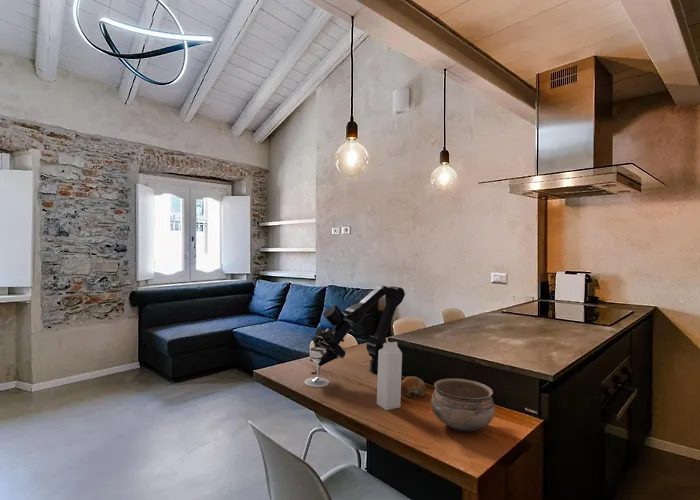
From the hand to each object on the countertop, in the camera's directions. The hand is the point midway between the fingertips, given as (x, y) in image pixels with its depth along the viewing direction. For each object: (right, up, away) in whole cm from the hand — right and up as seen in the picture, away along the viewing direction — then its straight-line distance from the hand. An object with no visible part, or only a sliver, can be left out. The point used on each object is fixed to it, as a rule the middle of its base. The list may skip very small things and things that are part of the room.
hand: (314, 363), depth 154 cm
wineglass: (+1, -7, +1) cm, 7 cm away
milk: (+27, -9, -20) cm, 35 cm away
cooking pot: (+49, -10, -35) cm, 60 cm away
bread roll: (+38, -10, -7) cm, 40 cm away
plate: (+1, -8, +1) cm, 8 cm away
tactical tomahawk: (+1, -9, +22) cm, 24 cm away
